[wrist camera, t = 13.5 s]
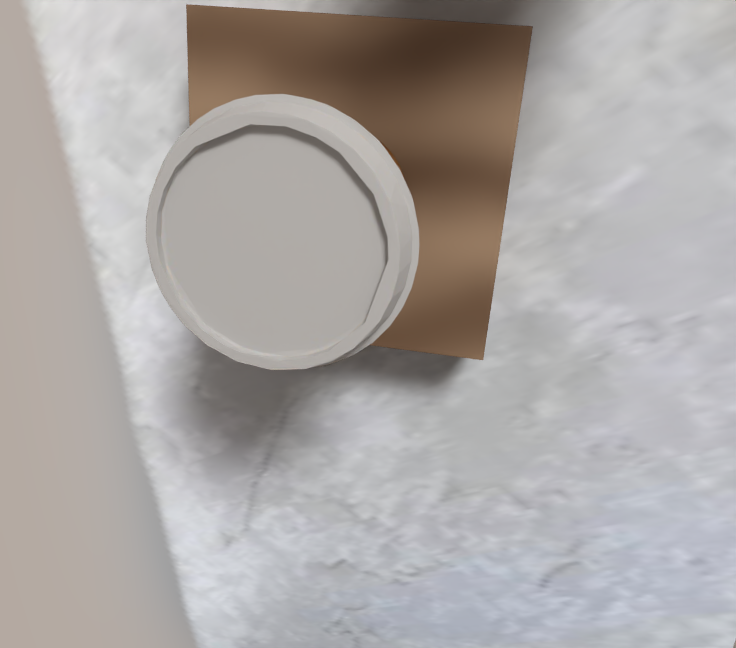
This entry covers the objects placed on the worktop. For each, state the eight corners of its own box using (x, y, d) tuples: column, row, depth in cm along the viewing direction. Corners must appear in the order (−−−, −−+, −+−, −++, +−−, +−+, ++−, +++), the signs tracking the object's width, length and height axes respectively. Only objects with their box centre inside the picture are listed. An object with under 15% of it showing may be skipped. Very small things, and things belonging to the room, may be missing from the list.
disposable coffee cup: (337, 319, 34) (267, 430, 23) (215, 181, 33) (77, 228, 22) (480, 206, 31) (478, 273, 20) (351, 46, 29) (272, 21, 18)
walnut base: (483, 327, 38) (482, 360, 34) (227, 295, 40) (194, 322, 36) (525, 35, 33) (532, 26, 28) (226, 15, 35) (186, 4, 30)
